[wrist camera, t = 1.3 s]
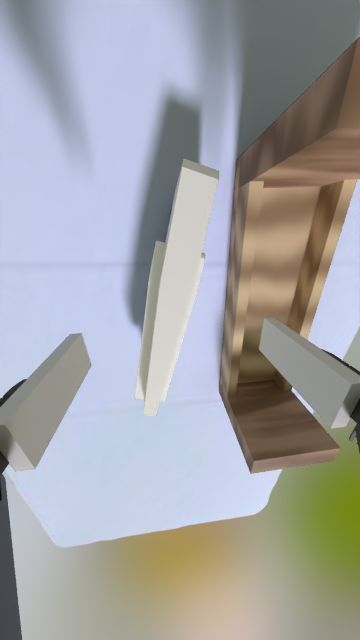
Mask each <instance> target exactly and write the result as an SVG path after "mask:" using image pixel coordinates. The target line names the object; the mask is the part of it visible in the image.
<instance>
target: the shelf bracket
mask: <svg viewBox="0 0 360 640" xmlns="http://www.w3.org/2000/svg"><path fill="white" fill-rule="evenodd" d="M218 181H219V171H217V170H214V169H212V168H209V167H206V166H203V165H201V164H198V163H195V162H193V161H190V160H187V159H183V163H182V167H181V171H180V174H179V178H178V182H177V186H176V190H175V194H174V199H173V205H172V212H171V215H170V220H169V226H168V231H167V236H166V240H165V243H164V242H160V241H157V240H156V243H155V248H154V253H153V259H152V265H151V270H150V276H149V282H148V291H147V299H146V308H145V316H144V325H143V333H142V342H141V350H140V358H139V367H138V375H137V384H136V392H135V399H140V400H144V412H143V415H151V416H156V414H157V410H158V407H159V404H160V401H163V402H165V399H166V395H167V392H168V389H169V385H170V382H171V378H172V375H173V372H174V368H175V365H176V362H177V358H178V355H179V351H180V348H181V345H182V341H183V338H184V335H185V331H186V328H187V325H188V321H189V318H190V314H191V311H192V308H193V304H194V301H195V298H196V294H197V291H198V287H199V283H200V278H201V274H202V270H203V266H204V262H205V253H202V250H203V246H204V241H205V237H206V233H207V228H208V224H209V220H210V215H211V211H212V207H213V202H214V198H215V194H216V189H217V185H218Z"/></svg>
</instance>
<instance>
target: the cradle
mask: <svg viewBox="0 0 360 640" xmlns="http://www.w3.org/2000/svg"><path fill="white" fill-rule="evenodd" d="M357 179H360V37H359V38H358V39H357V40H356V41H355V42H354V43H353V44H352V45H351V46H350V47H349V48H348V49H347V50H346V51H345V52H344V53H343V54H342V55H341V56H340V57H339V58H338V59H337V60H336V61H335V62H334V63H333V64H332V65H331V66H330V67H329V68H328V69H327V70H326V71H325V72H324V73H323V74H322V75H321V76H320V77H319V78H318V79H317V80H316V81H315V82H314V83H313V84H312V85H311V86H310V87H309V88H308V89H307V90H306V91H305V92H304V93H303V94H302V95H301V96H300V97H299V98H298V99H297V100H296V101H295V102H294V103H293V104H292V105H291V106H290V107H289V108H288V109H287V110H286V111H285V112H284V113H283V114H282V115H281V116H280V117H279V118H278V119H277V120H276V121H275V122H274V123H273V124H272V125H271V126H270V127H269V128H268V129H267V130H266V131H265V132H264V133H263V134H262V135H261V136H260V137H259V138H258V139H257V140H256V141H255V142H254V143H253V144H252V145H251V146H250V147H249V148H248V149H247V150H246V151H245V152H244V153H243V154H242V155H241V156H240V157H239V158H238V159H237V162H236V175H235V188H234V202H233V215H232V228H231V241H230V254H229V268H228V281H227V294H226V307H225V320H224V334H223V347H222V360H221V373H220V386H219V393H220V395H221V398H222V401H223V403H224V406H225V408H226V411H227V414H228V416H229V419H230V421H231V424H232V426H233V429H234V432H235V434H236V437H237V439H238V442H239V445H240V447H241V450H242V452H243V455H244V457H245V460H246V463H247V465H248V468H249V470H250V473H251V474H252V473H259V472H265V471H271V470H278V469H284V468H291V467H297V466H304V465H310V464H316V463H323V462H330V461H334V459H335V457H336V455H337V454H338V452H339V451H340V449H341V448H340V447H339V445H338V444H337V443H336V442H335V441H334V440H333V438H332V437H331V436H330V435H329V434H328V433H327V432H326V431H325V429H324V428H323V427H322V426H321V425H320V423H319V422H318V421H317V420H316V419H315V418H314V416H313V415H312V414H311V413H310V412H309V411H308V409H307V408H306V407H305V406H304V405H303V404H302V403H301V401H300V400H299V399H298V398H297V397H296V396H295V394H294V393H293V392H292V391H291V389H292V385H291V384H290V383H289V382H288V381H287V380H286V379H285V378H284V377H283V375H282V374H281V373H280V372H279V371H278V370H277V369H276V368H275V367H274V366H273V364H272V363H271V362H270V361H269V360H268V359H267V358H266V357H265V356H264V355H263V353H262V352H261V351H260V350H259V345H260V339H261V334H262V328H263V322H264V318H275V319H277V320H278V321H280V322H281V323H283V324H284V325H286V326H287V327H289V328H290V329H292V330H293V331H295V332H296V333H298V334H299V335H301V336H302V337H304V338H305V339H306V340H307V338H308V335H309V332H310V329H311V326H312V322H313V319H314V316H315V313H316V310H317V306H318V303H319V300H320V297H321V294H322V290H323V287H324V284H325V281H326V278H327V274H328V271H329V268H330V265H331V262H332V258H333V255H334V252H335V249H336V246H337V242H338V239H339V236H340V233H341V230H342V226H343V223H344V220H345V217H346V214H347V210H348V207H349V204H350V201H351V198H352V194H353V191H354V188H355V185H356V182H357Z"/></svg>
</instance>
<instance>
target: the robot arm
mask: <svg viewBox="0 0 360 640" xmlns="http://www.w3.org/2000/svg"><path fill="white" fill-rule="evenodd" d="M259 350H260V351H261V352H262V353H263V355H264V356H265V357H266V358H267V359H268V360H269V361H270V362H271V363H272V364H273V366H274V367H275V368H276V369H277V370H278V371H279V372H280V373H281V374H282V375H283V377H284V378H285V379H286V380H287V381H288V382H289V383H290V384H291V385H292V387H293V388H294V389H295V390H296V391H297V392H298V393H299V394H300V395H301V396H302V398H303V399H304V400H305V401H306V402H307V403H308V404H309V405H310V406H311V407H312V409H313V410H314V411H315V412H316V413H317V414H318V415H319V416H320V417H321V419H322V420H323V421H324V422H325V423H326V424H327V425H328V426H329V427H330V428H338V427H345V426H346V425H347V423H348V421H349V419H350V417H351V418H352V419H353V420H354V421H355V422H356V423H357V425H356V426H355V428H354V430H353V432H352V433H351V435H350V438H349V441H351V442H352V441H353V440H354V438H355V437H357V444H358V447H359V452H360V372H359V371H358V370H356V369H355V368H353V367H352V366H349V364H347V363H346V362H344V361H342V360H341V359H340V358H338V357H337V356H335V355H334V354H332V353H329V352H327V351H325V350H322V349H320V348H318V347H317V346H315V345H314V344H312V343H311V342H309V341H308V340H306V339H305V338H304V337H302V336H301V335H299V334H298V333H296V332H295V331H293V330H292V329H290V328H289V327H287V326H286V325H284V324H283V323H281V322H280V321H278V320H277V319H275V318H264V322H263V328H262V334H261V339H260V345H259ZM90 367H91V362H90V359H89V356H88V353H87V349H86V346H85V343H84V340H83V336H82V333H79V334H70V335H69V336H68V337H67V338H66V339H65V340H64V341H63V342H62V343H61V344H60V345H59V346H58V347H57V348H56V349H55V350H54V351H53V353H52V354H51V355H50V356H49V357H48V358H47V359H46V360H45V361H44V362H43V363H42V364H41V365H40V366H39V367H38V368H37V369H36V370H35V371H34V372H33V373H32V375H31V376H30V377H29V378H28V379H24V380H22V381H21V382H19V383H18V384H16V385H15V386H13V387H12V388H11V389H10V390H9V391H8V392H7V393H6V394H5V395H4V396H3V398H1V399H0V640H22V635H21V627H20V626H21V625H20V616H19V606H18V597H17V587H16V578H15V568H14V559H13V548H12V539H11V531H10V530H11V529H10V520H9V510H8V501H7V491H6V481H5V478H4V476H3V474H2V473H3V471H4V470H5V468H6V467H7V465H8V464H10V466H11V467H12V468H13V470H14V471H15V472H17V471H24V470H32V469H35V468H36V466H37V465H38V463H39V461H40V459H41V457H42V455H43V454H44V452H45V450H46V448H47V446H48V444H49V443H50V441H51V439H52V437H53V435H54V433H55V431H56V430H57V428H58V426H59V424H60V422H61V420H62V419H63V417H64V415H65V413H66V411H67V409H68V408H69V406H70V404H71V402H72V400H73V398H74V397H75V395H76V393H77V391H78V389H79V387H80V386H81V384H82V382H83V380H84V378H85V376H86V375H87V373H88V371H89V369H90Z"/></svg>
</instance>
